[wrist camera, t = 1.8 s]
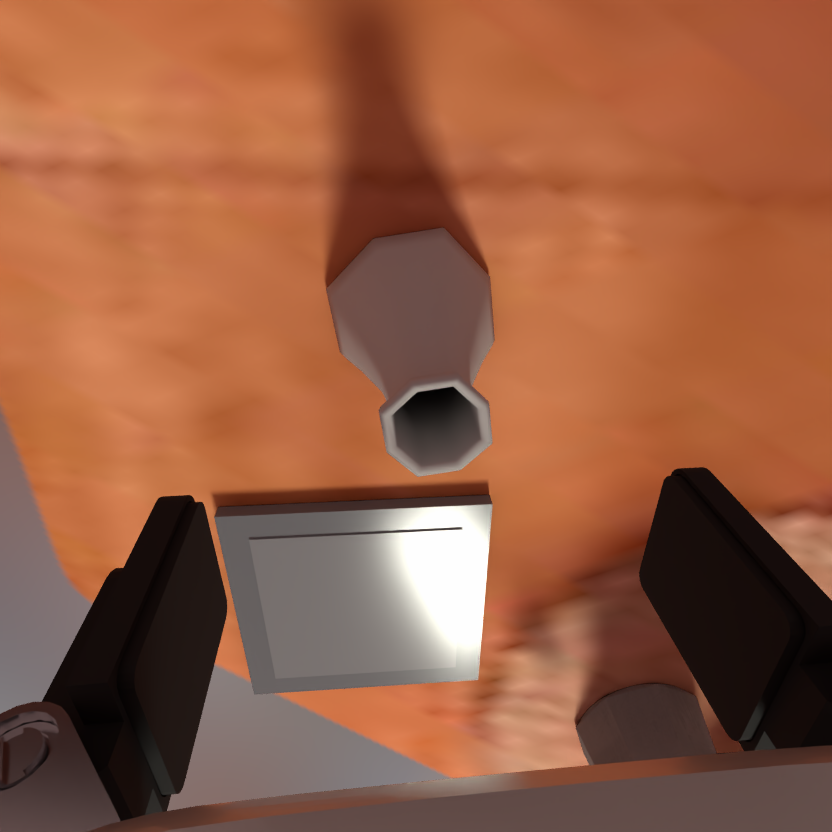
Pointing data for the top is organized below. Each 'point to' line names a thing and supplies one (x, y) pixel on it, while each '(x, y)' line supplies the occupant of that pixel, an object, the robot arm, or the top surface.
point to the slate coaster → (358, 590)
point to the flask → (420, 344)
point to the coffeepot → (644, 726)
